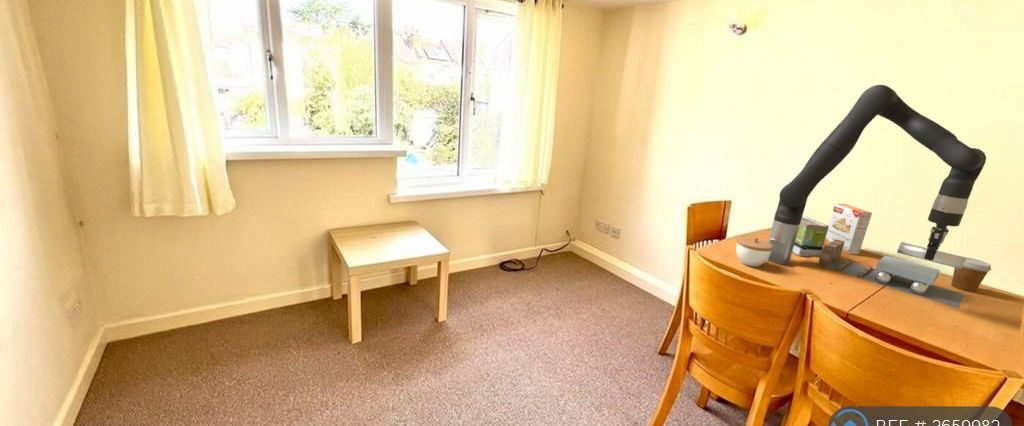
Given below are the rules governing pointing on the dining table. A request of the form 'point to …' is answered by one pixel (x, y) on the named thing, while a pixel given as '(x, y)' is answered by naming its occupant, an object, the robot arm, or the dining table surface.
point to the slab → (908, 270)
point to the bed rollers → (915, 287)
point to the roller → (938, 258)
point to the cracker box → (848, 227)
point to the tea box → (810, 237)
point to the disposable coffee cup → (970, 275)
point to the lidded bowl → (753, 251)
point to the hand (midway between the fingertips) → (929, 257)
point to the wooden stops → (837, 257)
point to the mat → (903, 284)
